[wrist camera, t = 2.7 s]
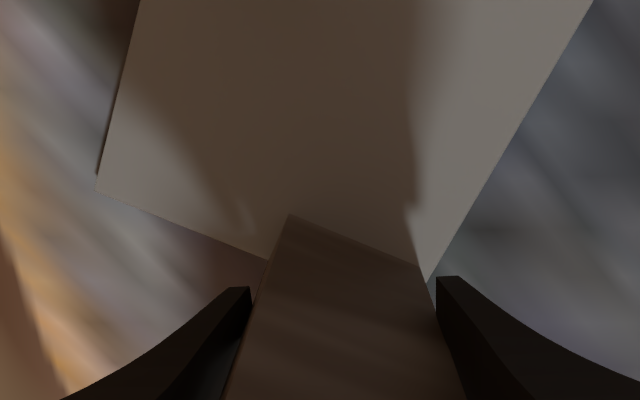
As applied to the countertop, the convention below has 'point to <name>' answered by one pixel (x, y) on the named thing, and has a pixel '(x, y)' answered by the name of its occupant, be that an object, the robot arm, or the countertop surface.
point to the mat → (326, 114)
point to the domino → (340, 326)
